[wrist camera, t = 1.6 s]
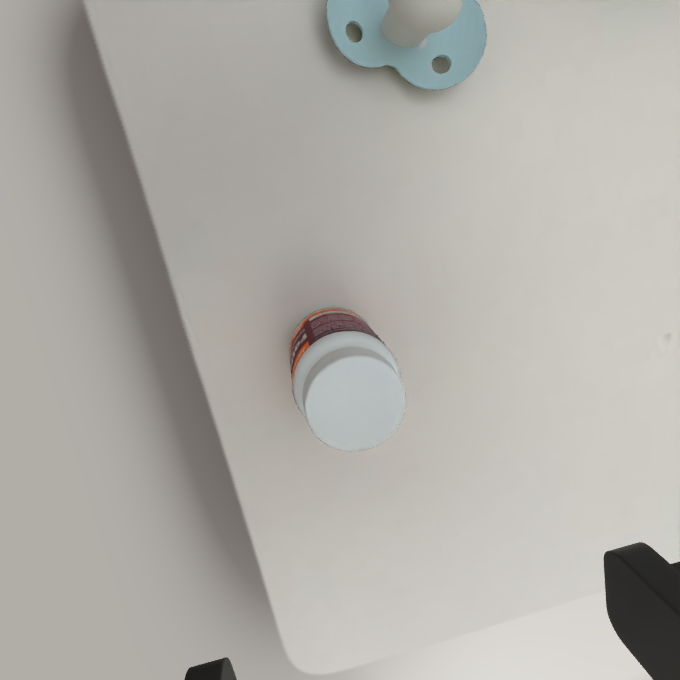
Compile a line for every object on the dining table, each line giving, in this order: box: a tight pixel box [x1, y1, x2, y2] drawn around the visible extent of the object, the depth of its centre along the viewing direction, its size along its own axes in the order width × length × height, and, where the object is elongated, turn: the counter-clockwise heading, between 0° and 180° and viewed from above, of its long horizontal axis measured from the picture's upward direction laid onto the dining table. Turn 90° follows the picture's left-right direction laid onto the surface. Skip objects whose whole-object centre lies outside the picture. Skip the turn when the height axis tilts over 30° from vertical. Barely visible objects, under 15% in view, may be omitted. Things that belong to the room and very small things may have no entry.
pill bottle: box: [290, 308, 406, 451], centre depth 22 cm, size 5×5×8 cm
